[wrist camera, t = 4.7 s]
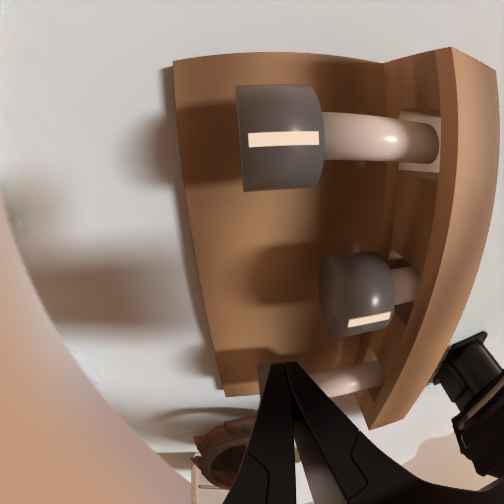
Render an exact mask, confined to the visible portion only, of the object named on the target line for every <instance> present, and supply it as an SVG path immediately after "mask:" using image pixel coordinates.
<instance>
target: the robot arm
mask: <svg viewBox="0 0 504 504" xmlns="http://www.w3.org/2000/svg"><path fill="white" fill-rule="evenodd" d="M487 335H488V334H487V333H486V331H485V332H483V333H481V334H479V335H477V336H474V337H472V338H470V339H468V340H465V341H463V342H461V343H459V344H456V345H454V346H453V347H452V349H451V350H450V352H449V354H448V356H447V358H446V360H445V362H444V363H443V365H442V367H441V369H440V370H439V372H438V374H437V376H436V377H435V379H434V381H433V384H434V385H437V384H439V383H441V385H442V387H443V388H444V390H445V391H446V393H447V395H448V396H449V398H450V400H451V402H453V403H454V402H455V404H456V405H457V407H458V409H459V410H460V413H459V414H458V415H457V416H455V417H453V418H452V419H451V421H452V423H453V429H454V432H455V434H456V437H457V441H458V444H459V447H460V452H461V454H464V455H465V456H466V457H467V458H468V459H469V460H472V462H473V464H474V467H475V470H476V472H477V473H478V474H479V475H481V476H485V475H490V476H493V477H496V478H499V479H497V480H496V481H494V482H492V483H490V484H489V485H487V486H485V487H484V488H482V489H480V490H479V491H471V490H464V489H458V488H452V487H447V486H441V485H437V484H432V483H429V482H426V481H424V480H422V479H420V478H418V477H416V476H415V475H413V474H412V473H410V472H409V471H408V470H406V469H405V468H403V467H402V466H401V465H399V464H398V463H397V462H395V461H394V460H392V459H391V458H390V457H388V456H387V455H386V454H385V453H383V452H382V451H381V450H380V449H379V448H377V447H376V446H375V445H374V444H373V443H372V442H371V441H370V440H369V439H368V438H367V437H366V436H365V435H364V434H363V433H362V432H361V431H359V429H358V428H357V427H356V426H355V425H354V424H353V423H352V422H351V421H350V419H349V418H348V417H347V416H346V415H345V414H344V413H343V412H342V411H341V410H340V409H339V408H338V407H337V406H336V405H335V403H334V402H333V401H332V400H331V399H330V398H329V397H328V396H327V395H326V394H325V393H324V391H323V390H322V389H321V388H320V387H319V386H318V385H317V384H316V383H315V382H314V380H313V379H312V378H311V377H310V376H309V375H308V374H307V373H306V372H305V370H304V369H303V368H302V367H301V366H300V365H299V364H298V363H297V362H296V361H288V362H284V363H273V364H271V365H270V367H269V371H268V375H267V378H266V382H265V386H264V390H263V393H262V397H261V400H260V404H259V407H258V411H257V414H256V418H255V421H254V425H253V428H252V431H251V435H250V438H249V441H248V445H247V448H246V452H245V454H244V457H243V460H242V463H241V466H240V468H239V471H238V474H237V476H236V478H235V480H234V483H233V485H232V487H231V489H230V491H229V493H228V494H227V496H226V498H225V500H224V502H223V503H222V504H296V476H295V451H294V439H295V442H296V446H297V449H298V452H299V455H300V459H301V462H302V465H303V468H304V472H305V475H306V478H307V481H308V484H309V488H310V491H311V494H312V497H313V500H314V503H315V504H504V369H502V368H501V366H500V365H499V364H498V362H497V361H496V360H495V359H494V357H493V356H492V355H491V353H490V352H489V351H488V350H487V348H486V347H485V346H484V345H483V343H484V341H485V339H486V337H487ZM496 392H497V393H496ZM486 402H487V403H486ZM485 403H486V404H485ZM472 415H473V416H472Z"/></svg>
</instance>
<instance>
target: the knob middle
mask: <svg viewBox="0 0 504 504" xmlns="http://www.w3.org/2000/svg"><path fill="white" fill-rule="evenodd" d="M421 277H422V275H421V274H420V273H419V272H418V271H417V270H416V269H415V268H414V267H412V266H411V267H404V268H398V269H391V270H390V268H389V265H388V263H387V262H386V260H385V259H384V257H383V256H382V255H381V254H380V253H378V252H376V251H369V252H360V253H350V254H341V255H331V256H325V257H324V258H323V259H322V261H321V264H320V268H319V279H318V288H319V301H320V307H321V313H322V317H323V321H324V324H325V326H326V329H327V331H328V333H329V334H330V336H332V337H333V338H340V337H345V336H350V335H355V334H360V333H365V332H370V331H374V330H379V329H383V328H385V327H386V326H387V325H388V324H389V323H390V321H391V319H392V316H393V313H394V308H395V305H399V304H403V303H408V302H412V301H415V299H416V295H417V292H418V288H419V285H420V281H421Z"/></svg>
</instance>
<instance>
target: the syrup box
mask: <svg viewBox="0 0 504 504" xmlns="http://www.w3.org/2000/svg"><path fill="white" fill-rule="evenodd" d="M195 456H201V454H200V453H197V452H196V453H195V455H194V457H195ZM194 457H193V458H194ZM228 493H229V490H225V489H222V488H219V487H217V486H215V485H213V484H211V483H210V482H209V481H208V480H207V479H206V478H205V477H204V476H203V475H202V474H201V470H200V469H198V468H197V466H196V465H195V464H194V463H193V462H192V465H191V504H222V503H223V502H224V500H225V498H226V496H227V494H228Z"/></svg>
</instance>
